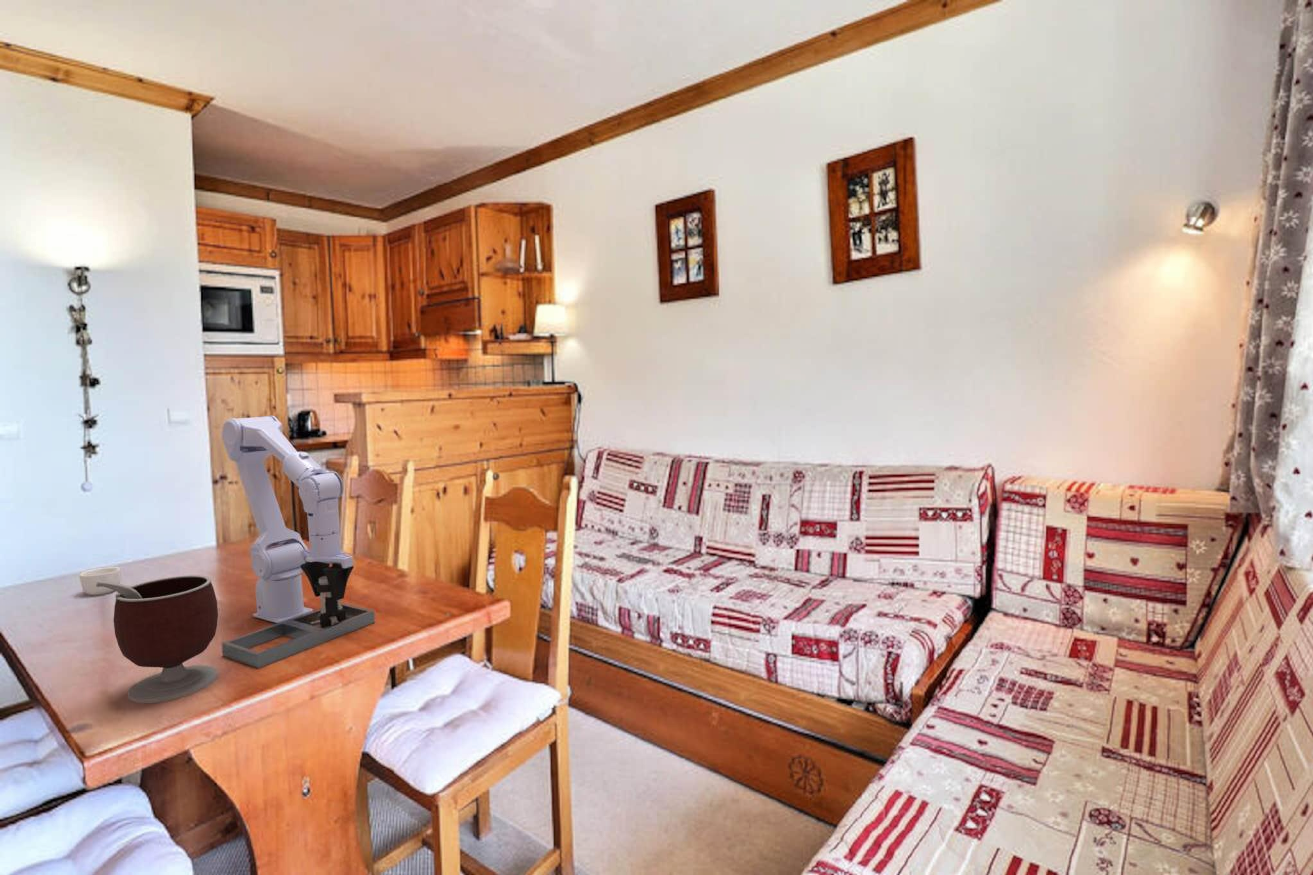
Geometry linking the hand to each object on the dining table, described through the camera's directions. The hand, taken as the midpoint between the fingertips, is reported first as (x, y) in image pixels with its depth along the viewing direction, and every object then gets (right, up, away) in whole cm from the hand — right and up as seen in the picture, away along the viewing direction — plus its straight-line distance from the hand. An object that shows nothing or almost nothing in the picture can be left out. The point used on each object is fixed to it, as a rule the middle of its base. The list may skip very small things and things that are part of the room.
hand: (329, 597), depth 134 cm
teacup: (-71, -6, +28) cm, 76 cm away
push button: (0, -6, 0) cm, 6 cm away
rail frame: (-3, -7, -5) cm, 9 cm away
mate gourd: (-15, -9, -24) cm, 30 cm away
